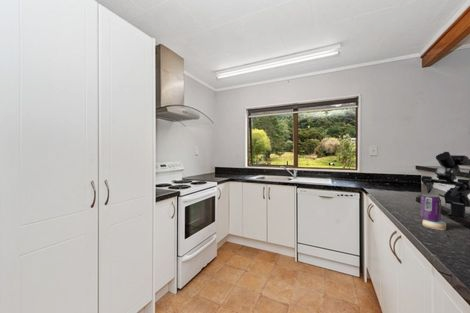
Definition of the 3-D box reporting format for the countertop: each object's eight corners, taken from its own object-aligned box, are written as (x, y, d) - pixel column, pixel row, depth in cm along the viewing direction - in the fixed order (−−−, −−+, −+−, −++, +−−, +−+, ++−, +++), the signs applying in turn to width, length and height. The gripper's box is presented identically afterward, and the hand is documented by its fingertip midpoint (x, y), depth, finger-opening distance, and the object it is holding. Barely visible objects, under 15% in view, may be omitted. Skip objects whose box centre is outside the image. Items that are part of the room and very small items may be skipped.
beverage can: (444, 222, 93) (445, 197, 93) (427, 221, 94) (427, 196, 94) (433, 218, 100) (433, 194, 100) (416, 217, 101) (417, 193, 101)
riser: (427, 223, 101) (427, 217, 101) (449, 228, 94) (449, 222, 94) (419, 225, 97) (419, 219, 97) (441, 231, 90) (441, 224, 90)
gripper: (422, 162, 116) (412, 181, 112) (470, 163, 99) (460, 187, 95) (429, 174, 119) (419, 194, 115) (476, 178, 103) (466, 202, 98)
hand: (439, 194), depth 106 cm, fingers open, 9 cm apart
